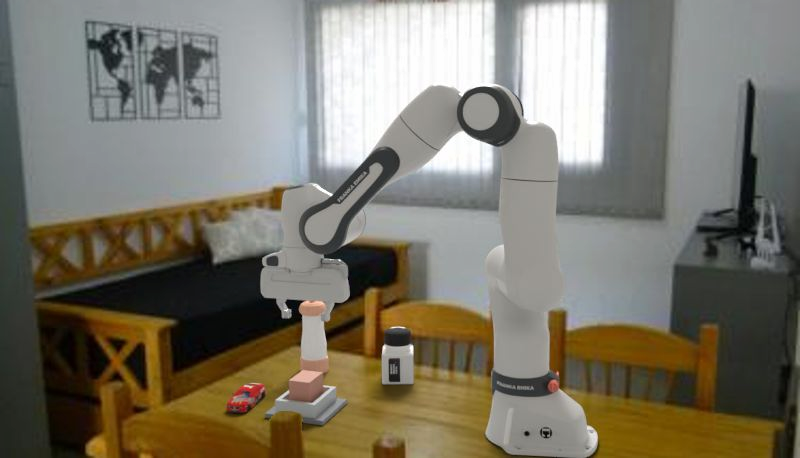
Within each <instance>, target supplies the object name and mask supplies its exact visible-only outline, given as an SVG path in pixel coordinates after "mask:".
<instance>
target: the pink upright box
mask: <svg viewBox="0 0 800 458" xmlns="http://www.w3.org/2000/svg"><path fill="white" fill-rule="evenodd" d="M323 385H324V373H323V372H315V371H306V370H302V371H300V372H298V373H296V374H295V375H294V376H293V377H292V378H290V379H288V390H289V400H293V401H301V402H309V403H313V402H314V401H315V400H316V399H318V398H319V397H320V396H321V395H322V394H323Z"/></svg>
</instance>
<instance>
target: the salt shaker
mask: <svg viewBox="0 0 800 458" xmlns="http://www.w3.org/2000/svg"><path fill="white" fill-rule="evenodd" d="M326 308H327V307H325V302H321V301H306V300H304V301H303V302H302V303H300V305H299V307H298V311H299V314H301V315H302V317H301V319H302V320H301V321H302V322H301V323H302V332H301V334H302V335H301V341H300V342H301V343H300V353H301V356H300V357H299V358H300V359H299V365H300V366H299V367H300V372H301V371H302V370H306V371H315V372H323V374H325V373H327V372H328V371H329V356H328V350H327V347H328V346H327V345H328V344H327V339H326V333H325V332H326V331H325V321H321V313H323V312H325V310H326Z"/></svg>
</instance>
